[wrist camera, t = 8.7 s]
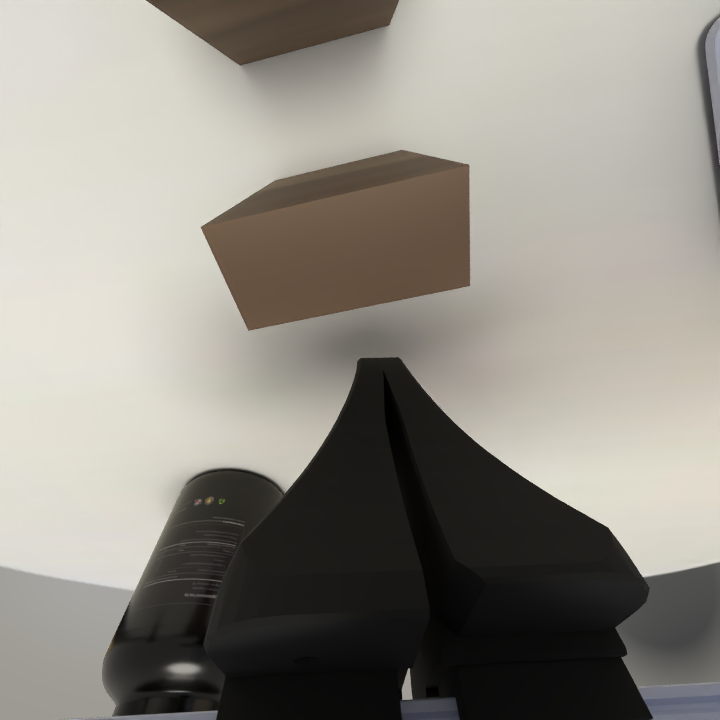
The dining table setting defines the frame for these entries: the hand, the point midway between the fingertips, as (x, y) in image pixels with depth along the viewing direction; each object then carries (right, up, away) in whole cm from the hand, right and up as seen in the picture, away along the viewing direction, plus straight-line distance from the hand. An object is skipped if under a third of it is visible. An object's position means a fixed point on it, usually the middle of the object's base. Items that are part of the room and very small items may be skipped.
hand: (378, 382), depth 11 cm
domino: (-1, +6, +1) cm, 7 cm away
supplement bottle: (-9, -8, +11) cm, 16 cm away
